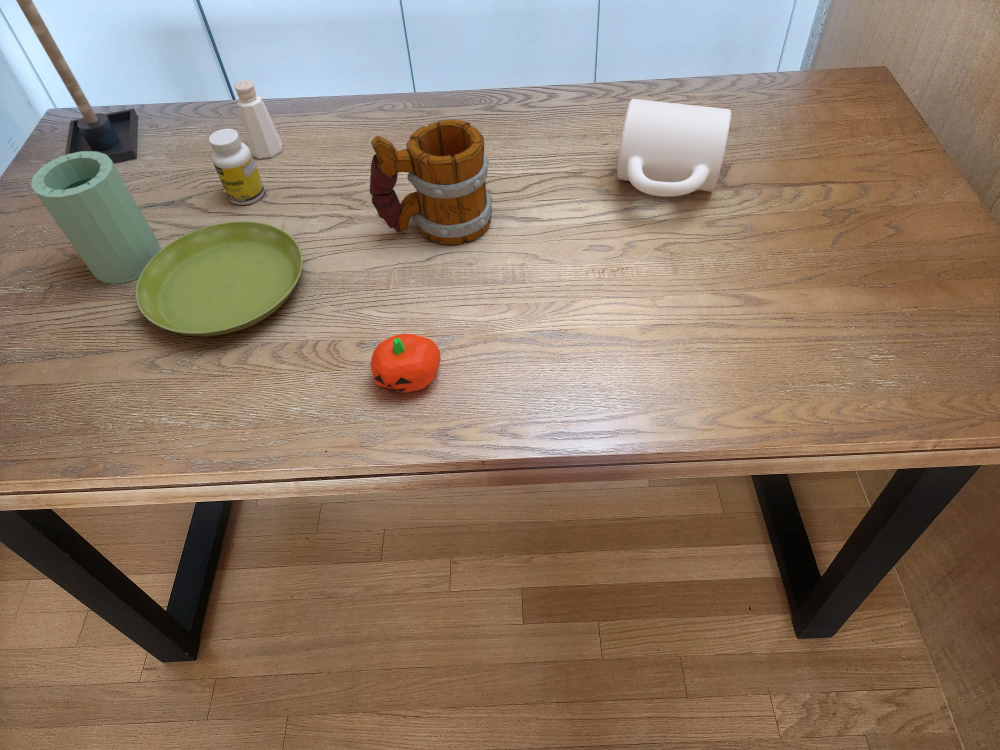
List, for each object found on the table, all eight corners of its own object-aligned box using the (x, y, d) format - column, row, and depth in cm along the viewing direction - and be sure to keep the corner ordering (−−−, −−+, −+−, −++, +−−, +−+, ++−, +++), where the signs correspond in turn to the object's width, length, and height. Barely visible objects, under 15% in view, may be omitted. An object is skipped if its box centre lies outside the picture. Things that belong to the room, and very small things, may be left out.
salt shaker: (255, 163, 104) (230, 97, 95) (245, 147, 107) (220, 81, 98) (288, 152, 106) (266, 86, 97) (277, 136, 109) (255, 70, 100)
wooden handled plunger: (89, 153, 107) (-6, -6, 88) (91, 138, 109) (-1, -19, 91) (119, 147, 107) (31, -12, 89) (120, 133, 110) (35, -25, 91)
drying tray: (138, 161, 106) (132, 150, 104) (70, 175, 104) (63, 164, 102) (139, 119, 114) (133, 108, 112) (76, 131, 112) (70, 120, 110)
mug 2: (625, 151, 102) (634, 83, 94) (716, 162, 100) (734, 93, 91) (607, 218, 93) (614, 149, 84) (707, 232, 90) (725, 163, 81)
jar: (90, 290, 88) (27, 204, 77) (94, 247, 93) (35, 160, 82) (162, 274, 89) (110, 186, 78) (161, 232, 95) (113, 144, 84)
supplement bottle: (221, 201, 98) (195, 143, 91) (243, 181, 101) (219, 122, 94) (251, 209, 97) (227, 150, 89) (272, 188, 100) (251, 129, 92)
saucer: (258, 365, 78) (249, 348, 76) (113, 332, 83) (100, 314, 80) (335, 252, 90) (329, 233, 88) (204, 227, 95) (195, 209, 92)
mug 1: (505, 235, 91) (501, 137, 79) (388, 263, 89) (366, 166, 77) (482, 190, 98) (475, 93, 86) (372, 215, 95) (350, 119, 83)
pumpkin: (451, 388, 75) (445, 352, 70) (383, 410, 74) (372, 374, 69) (433, 344, 79) (426, 306, 74) (368, 364, 78) (357, 327, 73)
